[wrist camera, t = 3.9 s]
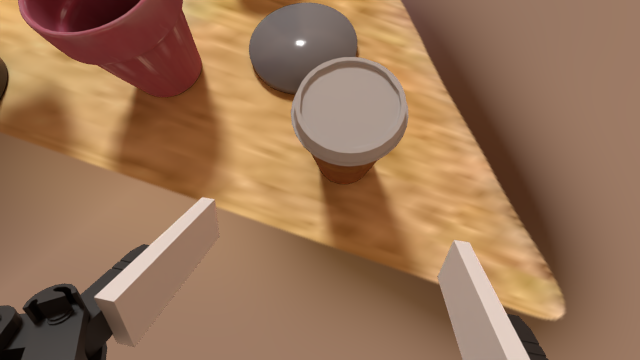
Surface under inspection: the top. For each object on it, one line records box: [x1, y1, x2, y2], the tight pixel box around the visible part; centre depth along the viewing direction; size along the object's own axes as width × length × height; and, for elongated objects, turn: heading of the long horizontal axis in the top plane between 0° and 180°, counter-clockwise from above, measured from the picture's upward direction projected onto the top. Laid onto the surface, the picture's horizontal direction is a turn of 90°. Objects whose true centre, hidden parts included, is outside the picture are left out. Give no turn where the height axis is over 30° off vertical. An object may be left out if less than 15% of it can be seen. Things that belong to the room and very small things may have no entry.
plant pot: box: [18, 0, 202, 97], centre depth 30 cm, size 14×14×13 cm
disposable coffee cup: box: [291, 57, 408, 184], centre depth 25 cm, size 10×10×12 cm
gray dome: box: [249, 3, 357, 94], centre depth 36 cm, size 15×15×1 cm
